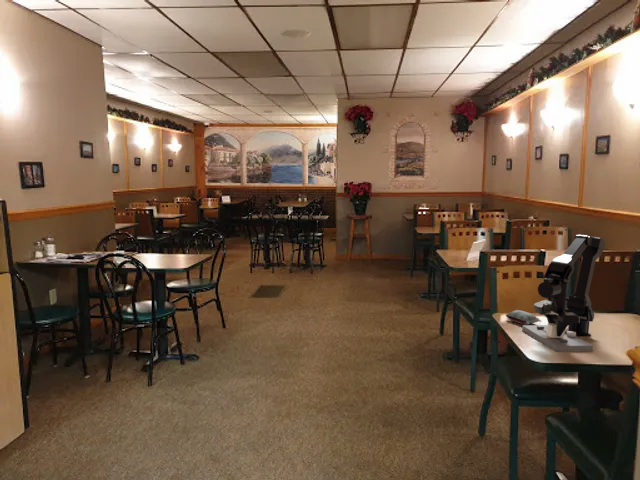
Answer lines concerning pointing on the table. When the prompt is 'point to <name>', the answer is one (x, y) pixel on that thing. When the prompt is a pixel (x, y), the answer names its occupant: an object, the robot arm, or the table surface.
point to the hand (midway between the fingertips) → (555, 334)
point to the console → (558, 339)
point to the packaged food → (523, 317)
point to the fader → (553, 330)
